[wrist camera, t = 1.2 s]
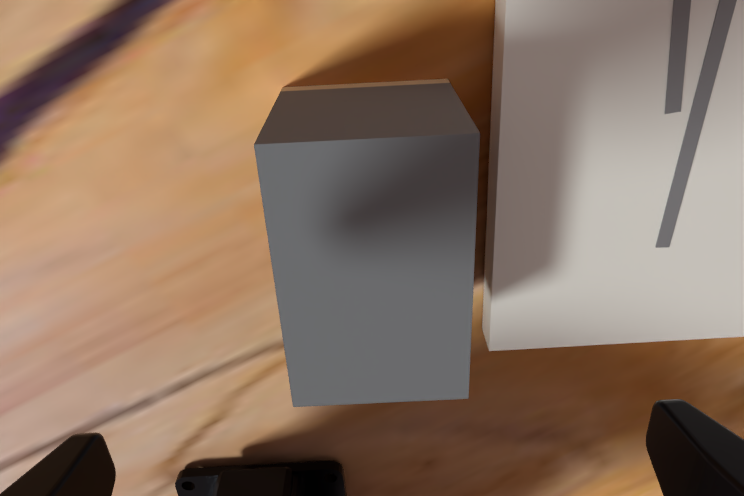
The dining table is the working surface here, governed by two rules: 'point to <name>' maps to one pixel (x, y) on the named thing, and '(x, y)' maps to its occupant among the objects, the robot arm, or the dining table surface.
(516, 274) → the board
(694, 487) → the robot arm
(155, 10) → the dining table surface
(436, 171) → the block
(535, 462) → the dining table surface
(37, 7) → the dining table surface
